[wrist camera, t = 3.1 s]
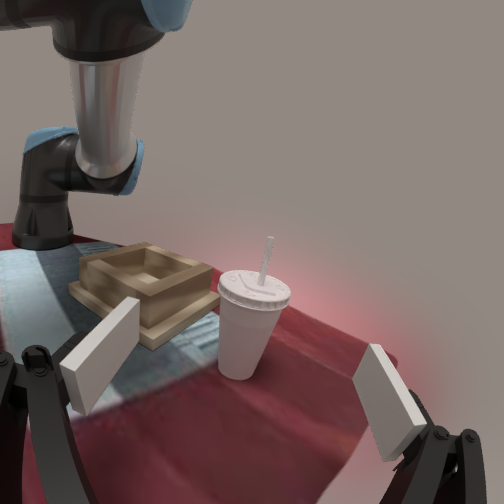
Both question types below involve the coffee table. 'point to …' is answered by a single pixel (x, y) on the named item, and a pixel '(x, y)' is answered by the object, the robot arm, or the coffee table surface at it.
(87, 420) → the coffee table surface
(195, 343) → the coffee table surface
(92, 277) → the wooden box
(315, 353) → the coffee table surface
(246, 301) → the smoothie
